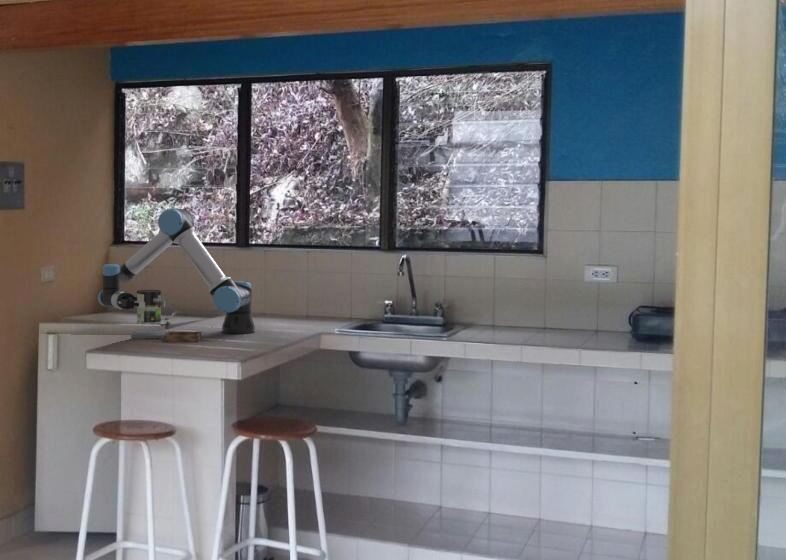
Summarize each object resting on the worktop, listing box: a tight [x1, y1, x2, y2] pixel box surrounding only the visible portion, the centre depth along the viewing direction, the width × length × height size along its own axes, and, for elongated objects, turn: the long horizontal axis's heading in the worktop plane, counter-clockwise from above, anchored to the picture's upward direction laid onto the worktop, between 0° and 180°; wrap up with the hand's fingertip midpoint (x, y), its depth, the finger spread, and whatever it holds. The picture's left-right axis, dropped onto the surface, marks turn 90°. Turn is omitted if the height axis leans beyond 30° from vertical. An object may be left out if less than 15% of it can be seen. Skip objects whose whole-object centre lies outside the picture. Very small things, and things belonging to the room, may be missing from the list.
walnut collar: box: [163, 331, 203, 343], centre depth 392 cm, size 14×14×2 cm
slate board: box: [130, 330, 167, 340], centre depth 399 cm, size 13×13×2 cm
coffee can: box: [136, 289, 162, 325], centre depth 398 cm, size 10×10×14 cm
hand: (154, 304), depth 395 cm, fingers closed on coffee can, 10 cm apart
